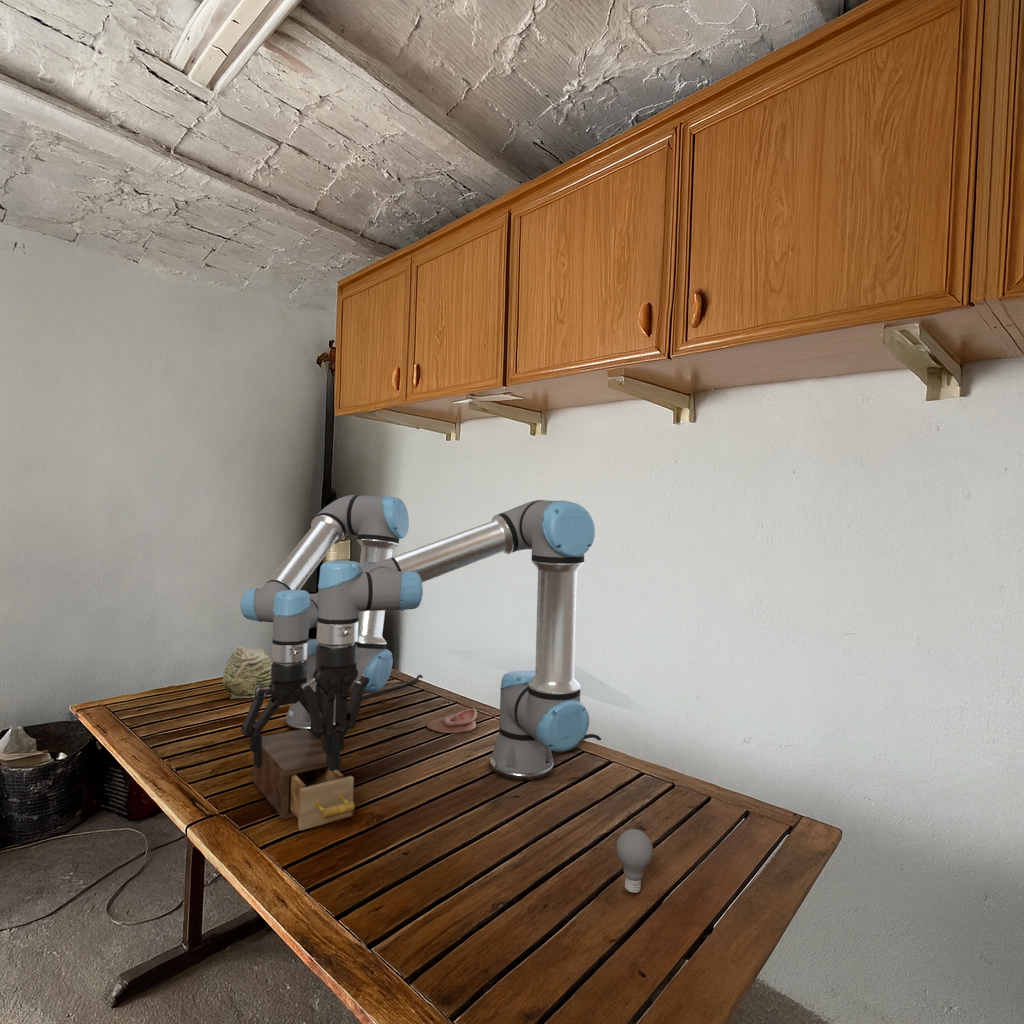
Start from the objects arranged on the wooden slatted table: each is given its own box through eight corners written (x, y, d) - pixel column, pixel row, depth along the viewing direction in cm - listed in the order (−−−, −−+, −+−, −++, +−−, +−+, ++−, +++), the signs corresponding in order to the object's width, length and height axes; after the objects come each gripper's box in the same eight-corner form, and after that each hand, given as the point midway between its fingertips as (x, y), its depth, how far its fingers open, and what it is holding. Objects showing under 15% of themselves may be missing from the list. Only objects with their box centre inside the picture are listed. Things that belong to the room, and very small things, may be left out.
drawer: (365, 828, 120) (366, 788, 120) (311, 844, 113) (312, 803, 113) (316, 780, 139) (318, 746, 139) (268, 792, 133) (269, 756, 133)
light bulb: (610, 879, 108) (613, 822, 108) (644, 879, 109) (647, 822, 109) (619, 902, 102) (622, 840, 102) (655, 901, 103) (658, 840, 103)
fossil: (218, 695, 195) (220, 647, 195) (278, 685, 208) (279, 640, 207) (228, 703, 189) (230, 653, 188) (289, 692, 201) (290, 645, 201)
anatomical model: (423, 716, 174) (436, 703, 185) (422, 730, 174) (436, 716, 185) (470, 721, 171) (480, 708, 182) (469, 736, 171) (480, 722, 182)
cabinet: (339, 804, 131) (341, 758, 131) (282, 820, 124) (284, 771, 123) (304, 769, 147) (306, 728, 146) (252, 781, 140) (254, 738, 139)
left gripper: (237, 672, 129) (233, 778, 129) (348, 658, 144) (344, 753, 144) (227, 664, 135) (223, 765, 135) (335, 651, 150) (331, 742, 150)
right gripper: (310, 651, 112) (305, 783, 113) (377, 643, 120) (373, 767, 121) (295, 643, 118) (291, 768, 118) (361, 636, 126) (356, 753, 127)
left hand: (286, 759), depth 140 cm, fingers closed on cabinet, 12 cm apart
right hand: (332, 767), depth 120 cm, fingers closed
